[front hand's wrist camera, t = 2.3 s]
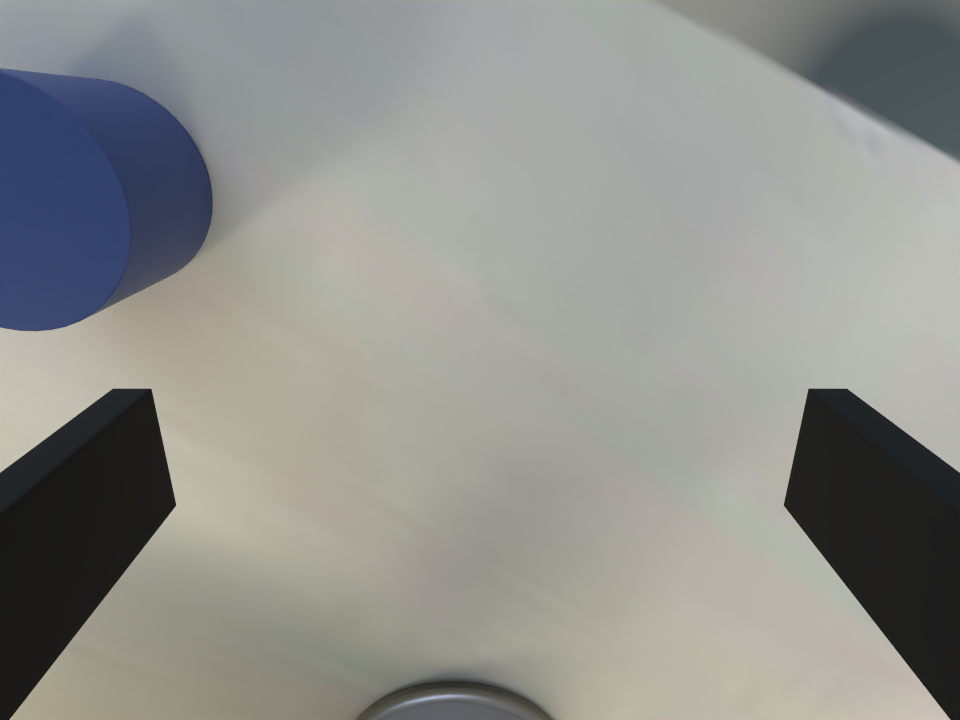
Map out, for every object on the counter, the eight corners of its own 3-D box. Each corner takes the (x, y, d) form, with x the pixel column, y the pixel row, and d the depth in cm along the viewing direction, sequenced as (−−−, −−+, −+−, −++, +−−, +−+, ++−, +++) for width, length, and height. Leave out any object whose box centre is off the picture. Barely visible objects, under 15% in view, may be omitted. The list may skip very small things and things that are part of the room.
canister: (204, 303, 30) (126, 355, 23) (12, 259, 29) (-127, 300, 23) (221, 109, 27) (136, 105, 20) (6, 54, 26) (-156, 31, 19)
